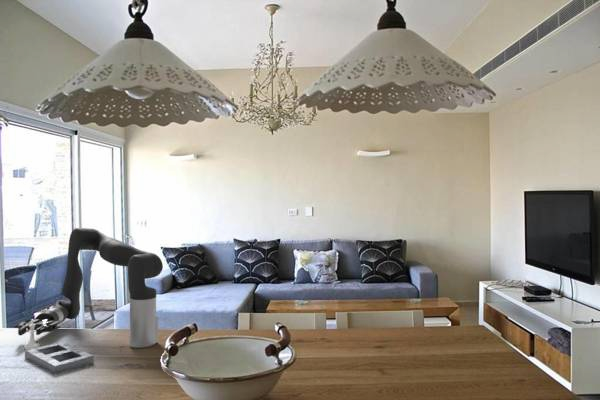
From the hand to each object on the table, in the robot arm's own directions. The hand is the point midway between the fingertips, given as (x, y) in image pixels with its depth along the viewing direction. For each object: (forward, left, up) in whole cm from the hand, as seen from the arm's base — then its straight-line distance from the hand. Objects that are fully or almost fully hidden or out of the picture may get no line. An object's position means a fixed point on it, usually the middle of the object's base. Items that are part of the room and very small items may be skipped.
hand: (28, 332), depth 155 cm
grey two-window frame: (-2, +19, -6) cm, 20 cm away
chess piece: (-2, -2, -6) cm, 7 cm away
